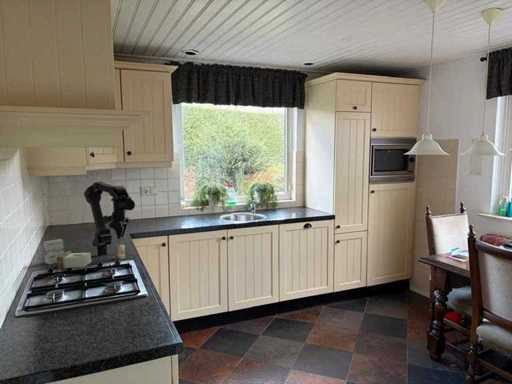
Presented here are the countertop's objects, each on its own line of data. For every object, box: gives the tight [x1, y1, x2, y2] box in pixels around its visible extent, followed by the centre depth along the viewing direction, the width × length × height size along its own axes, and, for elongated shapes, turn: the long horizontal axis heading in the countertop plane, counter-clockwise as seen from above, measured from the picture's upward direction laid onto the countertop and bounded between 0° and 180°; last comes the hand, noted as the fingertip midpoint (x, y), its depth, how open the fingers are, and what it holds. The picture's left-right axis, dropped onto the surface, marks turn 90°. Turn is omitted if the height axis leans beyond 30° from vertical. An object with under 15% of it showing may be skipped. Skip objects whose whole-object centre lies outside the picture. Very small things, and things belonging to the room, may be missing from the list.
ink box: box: [43, 238, 65, 265], centre depth 207 cm, size 9×5×12 cm, turn 141°
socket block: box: [62, 252, 92, 269], centre depth 195 cm, size 10×10×5 cm
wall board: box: [56, 250, 73, 270], centre depth 196 cm, size 13×32×7 cm, turn 94°
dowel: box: [117, 244, 126, 260], centre depth 208 cm, size 4×4×8 cm
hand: (120, 238), depth 207 cm, fingers open, 5 cm apart
